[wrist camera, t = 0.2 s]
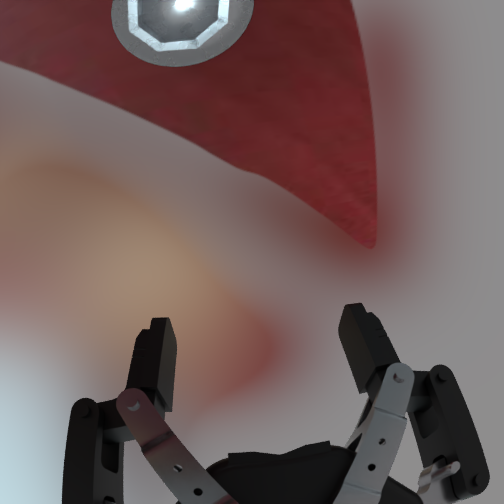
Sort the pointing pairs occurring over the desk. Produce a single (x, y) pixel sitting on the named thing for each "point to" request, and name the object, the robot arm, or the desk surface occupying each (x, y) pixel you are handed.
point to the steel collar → (179, 28)
